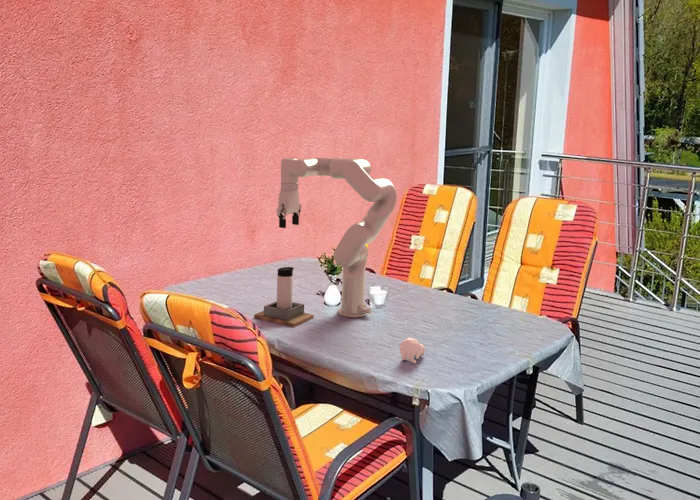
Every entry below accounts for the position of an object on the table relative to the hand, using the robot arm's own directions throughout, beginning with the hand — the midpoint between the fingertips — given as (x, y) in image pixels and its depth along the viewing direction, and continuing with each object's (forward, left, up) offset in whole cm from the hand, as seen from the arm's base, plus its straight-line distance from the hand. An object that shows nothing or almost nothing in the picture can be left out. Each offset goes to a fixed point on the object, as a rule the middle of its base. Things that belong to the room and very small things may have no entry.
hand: (289, 226), depth 294 cm
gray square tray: (-12, +20, -33) cm, 40 cm away
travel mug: (-12, +20, -33) cm, 40 cm away
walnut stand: (-12, +20, -34) cm, 41 cm away
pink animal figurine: (-76, +31, -35) cm, 89 cm away
